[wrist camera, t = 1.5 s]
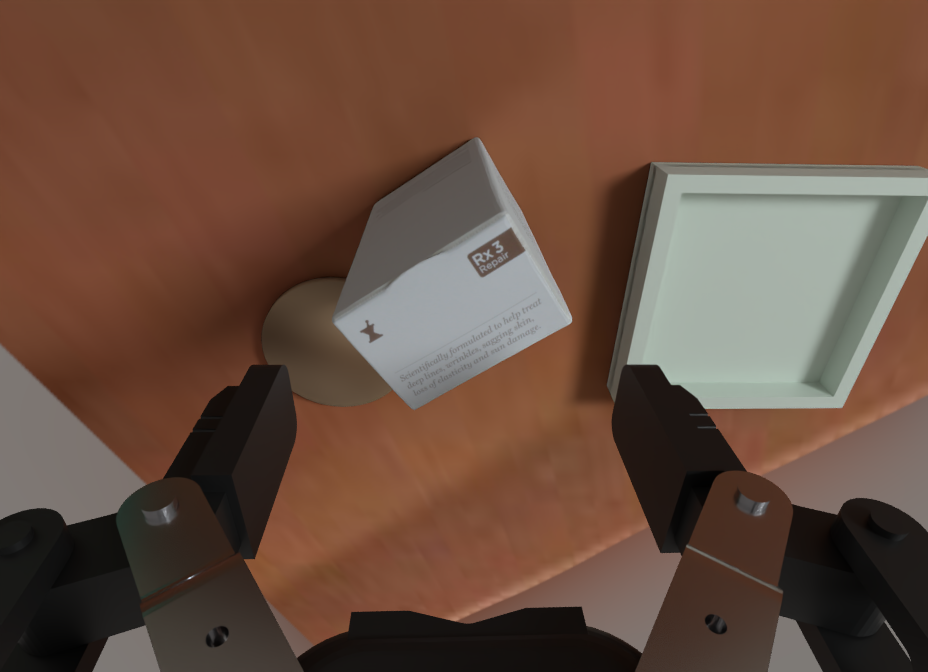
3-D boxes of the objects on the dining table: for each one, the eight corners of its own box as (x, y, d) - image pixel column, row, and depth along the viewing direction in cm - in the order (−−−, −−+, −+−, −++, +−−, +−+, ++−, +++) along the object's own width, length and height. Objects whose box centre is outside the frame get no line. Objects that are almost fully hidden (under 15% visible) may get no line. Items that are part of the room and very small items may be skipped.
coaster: (252, 276, 27) (248, 281, 27) (409, 277, 28) (408, 282, 27) (277, 400, 32) (274, 407, 31) (413, 399, 32) (412, 406, 31)
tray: (651, 162, 25) (668, 174, 23) (918, 166, 26) (955, 178, 24) (606, 385, 32) (617, 409, 30) (818, 384, 32) (842, 408, 31)
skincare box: (422, 270, 28) (411, 426, 17) (368, 198, 26) (319, 327, 15) (526, 206, 26) (583, 335, 16) (478, 124, 24) (505, 210, 14)
